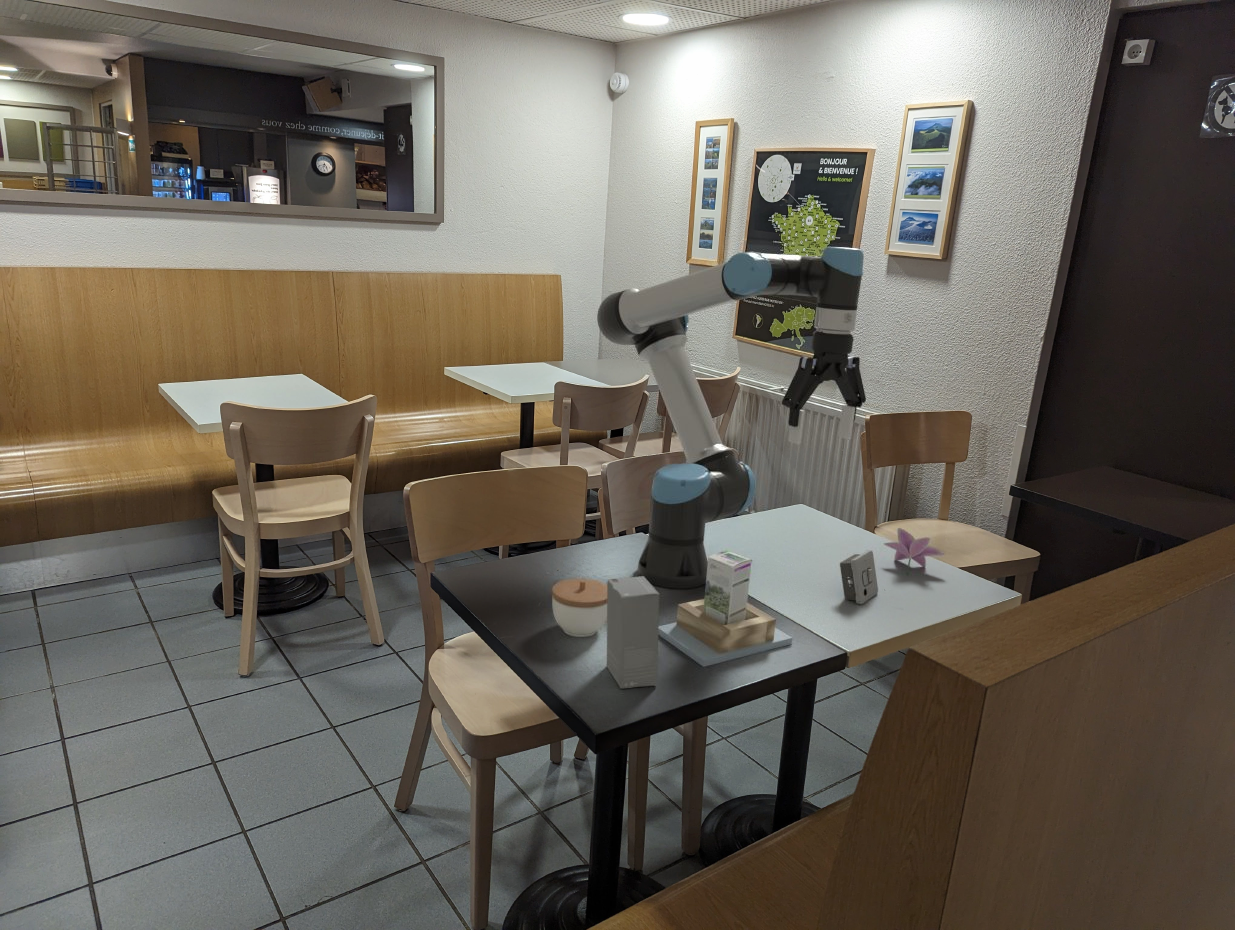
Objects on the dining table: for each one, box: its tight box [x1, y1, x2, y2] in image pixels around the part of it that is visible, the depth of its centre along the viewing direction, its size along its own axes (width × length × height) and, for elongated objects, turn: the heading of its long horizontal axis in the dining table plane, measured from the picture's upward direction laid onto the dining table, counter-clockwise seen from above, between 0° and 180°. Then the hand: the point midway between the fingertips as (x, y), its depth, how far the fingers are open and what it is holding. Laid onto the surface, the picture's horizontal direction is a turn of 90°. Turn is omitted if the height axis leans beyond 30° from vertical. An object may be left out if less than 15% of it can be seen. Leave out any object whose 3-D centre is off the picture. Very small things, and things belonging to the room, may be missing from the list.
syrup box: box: [703, 550, 752, 625], centre depth 152 cm, size 6×6×14 cm
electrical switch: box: [839, 550, 879, 605], centre depth 177 cm, size 9×5×9 cm, turn 141°
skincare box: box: [606, 576, 660, 689], centre depth 137 cm, size 8×7×16 cm
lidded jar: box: [551, 578, 607, 638], centre depth 153 cm, size 11×11×9 cm
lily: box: [883, 527, 946, 576], centre depth 194 cm, size 12×12×10 cm
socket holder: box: [658, 598, 793, 668], centre depth 154 cm, size 20×14×5 cm
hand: (819, 440), depth 168 cm, fingers open, 13 cm apart
